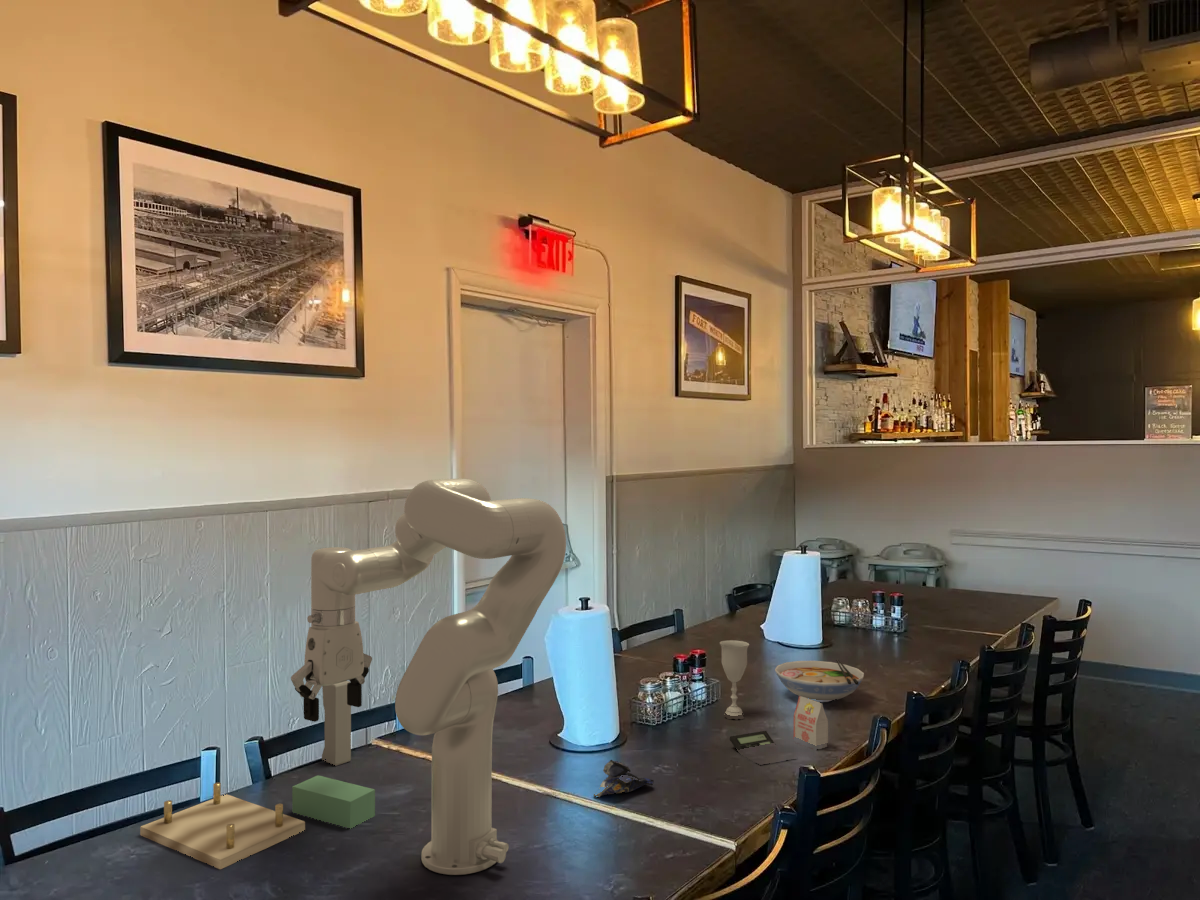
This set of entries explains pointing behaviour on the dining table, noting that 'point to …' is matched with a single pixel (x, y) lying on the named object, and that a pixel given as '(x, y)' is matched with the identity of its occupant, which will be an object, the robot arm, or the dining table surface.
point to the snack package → (617, 785)
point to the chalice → (734, 668)
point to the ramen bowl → (819, 679)
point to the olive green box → (333, 801)
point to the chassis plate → (222, 829)
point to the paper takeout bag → (810, 722)
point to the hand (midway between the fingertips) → (333, 712)
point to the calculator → (751, 740)
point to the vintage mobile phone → (337, 724)
